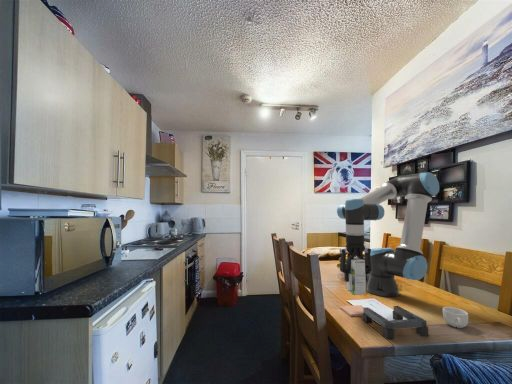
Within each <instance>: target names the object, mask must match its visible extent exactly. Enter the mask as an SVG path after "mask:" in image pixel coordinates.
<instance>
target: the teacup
mask: <svg viewBox="0 0 512 384" xmlns="http://www.w3.org/2000/svg"><path fill="white" fill-rule="evenodd" d="M442 317H443V319H444V322H445V323H446V324H447V325H449V326H450V327H452V328H456V327H457V328H458V329H464V328H465V327H467V326H468V324H469V313H468V311H466V310H464V309H461V308H458V307H454V306H443V307H442Z"/></svg>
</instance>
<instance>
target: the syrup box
mask: <svg viewBox="0 0 512 384" xmlns="http://www.w3.org/2000/svg"><path fill="white" fill-rule="evenodd" d="M349 274H351V290H348V289H347V288H346V289H347V290H346V291H347V292H349V293H350V294H351V295H353V296H358V295H359V296H360V295H361V296H363V295H366V293H367V285H366V286H365V259H364V260H363V259H359V258H358V257H357V256H355V257H354V259H352V260H351V269H350V273H349Z"/></svg>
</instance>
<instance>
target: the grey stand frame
mask: <svg viewBox="0 0 512 384" xmlns="http://www.w3.org/2000/svg"><path fill="white" fill-rule="evenodd" d="M392 308H393V310H392V320H390V319H389V320H388V319H387V318H385V317H384V316H382V315H381V314H379V313H378V312H376V311H374V310H373V309H371V308H370V307H364V308H363V312H364V313H363V316H362V322H364V323H365V324H373V321H374V322H376V323H377V324H379V325H380V326H382V327H381V330H382V331H381V333H382V337H384V338H385V339H387V340H394V339H395V330H399V329H414V328H415V333H416V334H417V335H419V336H420V337H421V338H422V337H423V338H424V337H429V327H428V324H427V323H428V322H427V320H426V319H424V318H422V317H420V316H418V315H416V314H415V313H412V312H411V311H408V310H407V309H405V308H403V307H401V306H399V305H393V307H392ZM404 318H405V319H404Z"/></svg>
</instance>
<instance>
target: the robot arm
mask: <svg viewBox="0 0 512 384" xmlns="http://www.w3.org/2000/svg"><path fill="white" fill-rule="evenodd" d="M438 193H440V182H439V180H438V178H437V176H436V175H435V174H434V173H432V172H429V171H428V172H419V173H412V174H403V175H399V176H397V177H393V178H392V179H390V180H387V181H386V182H384V183H382V184H381V186H380V187H378V188H376V189H374V190H373V191H370V192H368V193H366V194H364V195H363V196H361V197H358V198H348V199H346V200H345V203H343V204H340V205H338V207H337V209H336V215H337V216H338V217H339V218H340V219H342V220H345V234H346V235H345V247H343V248H339V253H340V254H339V255H340V256H339V257H340V261H339V262H340V263H339V265H340V266H339V271H340V273H343V274H344V281H345V282H346V289H348V290H351V274H349V273H350V269H351V260H352V259H354V257H356V258H359V259H363V260H365V286H366V292H368V293H369V294H372V295H375V296H379V297H385V298H386V297H387V298H389V297H390V298H393V297H394V298H395V297H398V296H400V289H399V288H398V284H397V282H396V279H395V276H396V277H398V278H403V279H405V280H411V281H420V280H421V279H423V277H425V275H426V274H427V270H428V263H427V259H426V257H424V253H423V251H422V250H421V246H422V239H423V234H424V233H423V232H424V226H425V222H426V221H425V220H426V216H427V215H426V214H427V208H428V203H430V202H432V200H433V196H436V195H438ZM399 197H405V198H406V200H407V204H406V209H405V214H404V220H403V225H402V226H403V227H402V229H401V230H402V231H401V237H400V243H399V245H397V246H396V247H395V249H394V248H392V247H375V248H370V247H366V246H365V235H364V234H365V221H380V220H382V219H383V218H384V216H385V208H384V206H383V205H381V204H382V203H384V202H386V201H387V200H393V199H395V198H399ZM363 253H364V254H363ZM368 275H369V278H368Z"/></svg>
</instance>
